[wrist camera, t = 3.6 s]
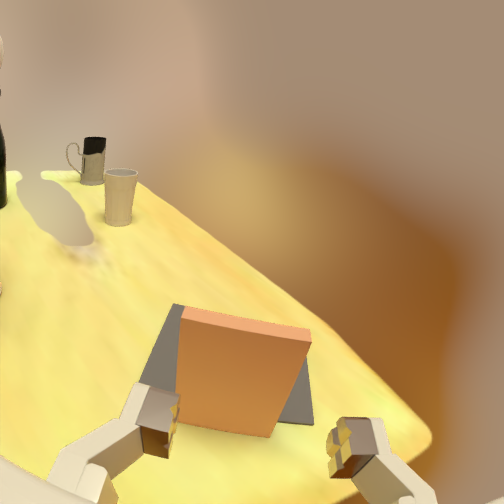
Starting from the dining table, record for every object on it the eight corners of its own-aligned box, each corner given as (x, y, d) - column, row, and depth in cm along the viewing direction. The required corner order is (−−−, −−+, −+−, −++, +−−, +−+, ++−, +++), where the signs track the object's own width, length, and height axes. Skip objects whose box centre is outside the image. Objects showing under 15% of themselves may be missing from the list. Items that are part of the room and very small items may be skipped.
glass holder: (107, 184, 96) (110, 139, 89) (66, 187, 86) (68, 140, 80) (101, 178, 101) (104, 136, 95) (63, 180, 92) (65, 137, 86)
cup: (140, 222, 73) (145, 173, 68) (117, 230, 66) (120, 178, 61) (119, 213, 75) (122, 166, 70) (95, 220, 69) (97, 171, 64)
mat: (313, 425, 31) (314, 423, 31) (134, 393, 31) (134, 391, 30) (302, 330, 48) (302, 328, 48) (173, 304, 47) (173, 303, 47)
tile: (269, 437, 29) (311, 342, 23) (174, 420, 29) (180, 317, 23) (269, 425, 31) (309, 328, 25) (177, 408, 30) (185, 305, 24)
